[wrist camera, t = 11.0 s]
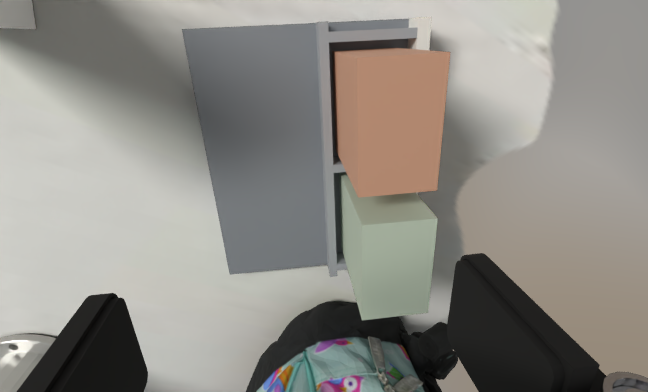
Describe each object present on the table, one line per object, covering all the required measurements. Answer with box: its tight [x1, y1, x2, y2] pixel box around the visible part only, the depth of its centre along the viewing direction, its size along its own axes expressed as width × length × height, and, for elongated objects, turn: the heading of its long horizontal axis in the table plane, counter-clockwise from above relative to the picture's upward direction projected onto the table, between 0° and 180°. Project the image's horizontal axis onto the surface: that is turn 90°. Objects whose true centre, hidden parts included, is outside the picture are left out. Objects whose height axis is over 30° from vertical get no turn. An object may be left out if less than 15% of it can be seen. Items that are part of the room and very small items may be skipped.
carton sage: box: [339, 172, 438, 320], centre depth 29 cm, size 8×5×10 cm, turn 3°
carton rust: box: [332, 48, 450, 198], centre depth 24 cm, size 8×5×10 cm, turn 3°
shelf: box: [182, 17, 432, 277], centre depth 30 cm, size 22×18×4 cm
